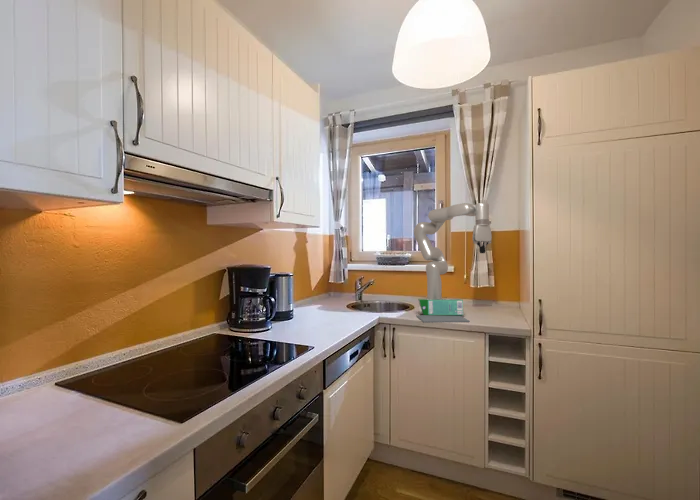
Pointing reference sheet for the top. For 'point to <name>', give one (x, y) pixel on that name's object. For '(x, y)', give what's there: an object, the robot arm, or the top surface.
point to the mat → (442, 318)
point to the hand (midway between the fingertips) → (482, 253)
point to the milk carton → (441, 306)
